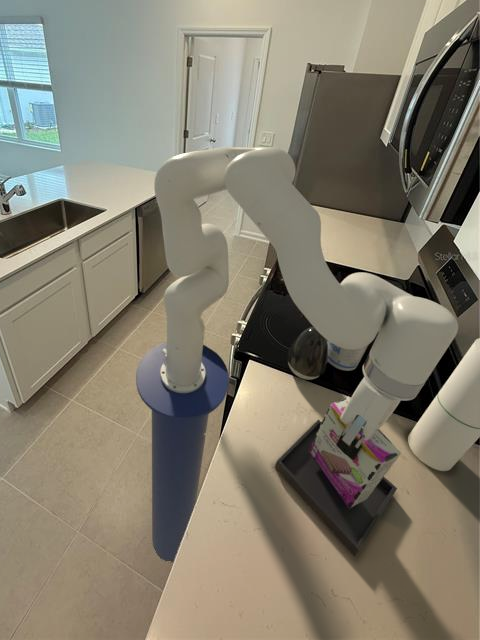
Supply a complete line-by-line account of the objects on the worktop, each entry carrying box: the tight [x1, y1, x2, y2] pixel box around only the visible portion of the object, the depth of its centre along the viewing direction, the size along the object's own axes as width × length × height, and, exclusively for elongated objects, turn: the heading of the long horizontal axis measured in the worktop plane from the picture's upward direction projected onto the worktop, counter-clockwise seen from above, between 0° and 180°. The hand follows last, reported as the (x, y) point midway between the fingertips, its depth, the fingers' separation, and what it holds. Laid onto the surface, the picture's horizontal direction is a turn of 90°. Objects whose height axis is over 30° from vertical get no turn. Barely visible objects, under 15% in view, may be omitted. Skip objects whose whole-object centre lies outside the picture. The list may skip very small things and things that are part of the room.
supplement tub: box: [327, 340, 369, 372], centre depth 87 cm, size 10×10×15 cm
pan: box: [274, 419, 398, 557], centre depth 62 cm, size 17×15×3 cm
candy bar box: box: [309, 395, 402, 509], centre depth 57 cm, size 11×5×16 cm, turn 23°
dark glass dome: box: [286, 326, 328, 381], centre depth 82 cm, size 10×10×15 cm
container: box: [407, 337, 480, 472], centre depth 62 cm, size 9×9×30 cm
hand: (354, 440), depth 55 cm, fingers closed on candy bar box, 5 cm apart
